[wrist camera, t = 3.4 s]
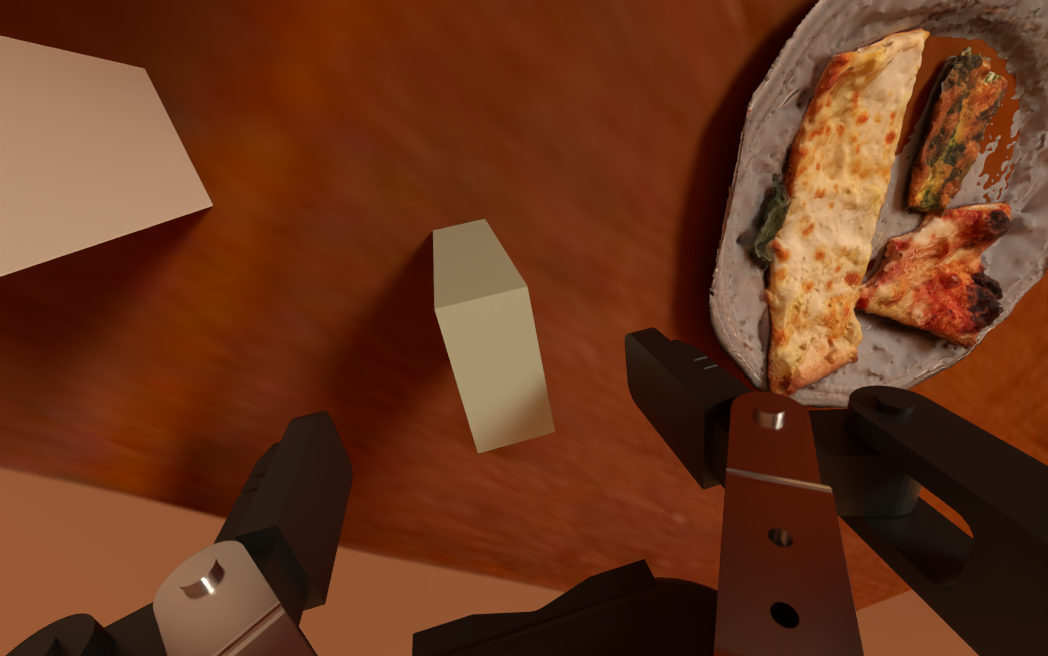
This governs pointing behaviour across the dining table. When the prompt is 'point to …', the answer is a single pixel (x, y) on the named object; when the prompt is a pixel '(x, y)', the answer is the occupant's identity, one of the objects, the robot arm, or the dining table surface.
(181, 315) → the dining table surface
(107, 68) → the tile
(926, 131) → the food plate
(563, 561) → the dining table surface
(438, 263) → the sage tile
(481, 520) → the dining table surface
